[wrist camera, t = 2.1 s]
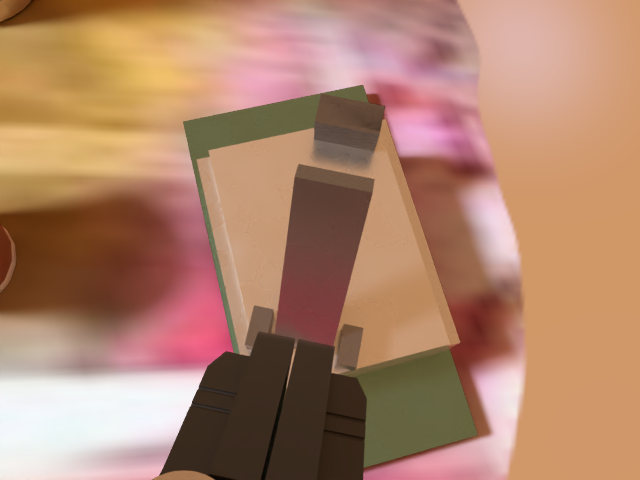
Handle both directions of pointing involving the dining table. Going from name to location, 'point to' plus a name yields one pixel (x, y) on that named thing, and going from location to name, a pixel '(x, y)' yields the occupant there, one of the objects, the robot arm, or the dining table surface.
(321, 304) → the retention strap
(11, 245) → the coffee cup
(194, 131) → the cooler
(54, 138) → the dining table surface
